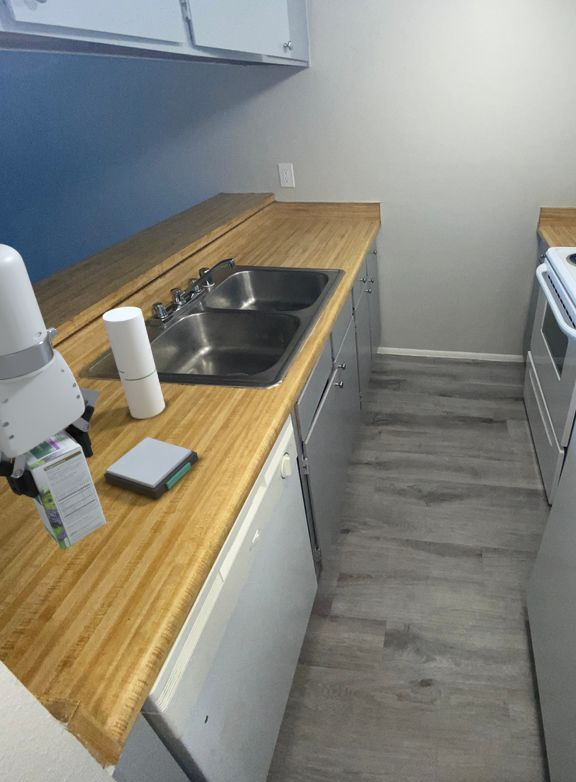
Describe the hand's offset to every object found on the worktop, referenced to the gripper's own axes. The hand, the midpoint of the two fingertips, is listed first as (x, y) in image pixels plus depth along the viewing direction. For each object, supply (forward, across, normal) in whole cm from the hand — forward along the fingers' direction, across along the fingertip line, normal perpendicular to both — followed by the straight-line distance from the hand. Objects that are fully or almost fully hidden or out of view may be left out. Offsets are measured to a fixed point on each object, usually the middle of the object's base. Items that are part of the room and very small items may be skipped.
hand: (56, 472), depth 61 cm
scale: (+23, -21, -10) cm, 33 cm away
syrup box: (+10, 0, 0) cm, 10 cm away
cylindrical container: (+24, -36, -26) cm, 51 cm away
